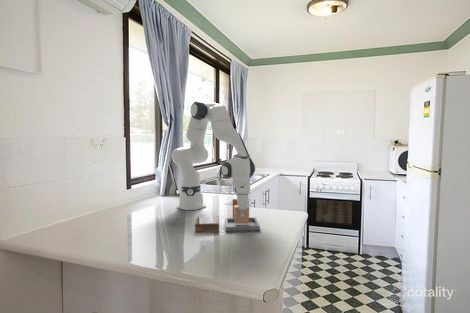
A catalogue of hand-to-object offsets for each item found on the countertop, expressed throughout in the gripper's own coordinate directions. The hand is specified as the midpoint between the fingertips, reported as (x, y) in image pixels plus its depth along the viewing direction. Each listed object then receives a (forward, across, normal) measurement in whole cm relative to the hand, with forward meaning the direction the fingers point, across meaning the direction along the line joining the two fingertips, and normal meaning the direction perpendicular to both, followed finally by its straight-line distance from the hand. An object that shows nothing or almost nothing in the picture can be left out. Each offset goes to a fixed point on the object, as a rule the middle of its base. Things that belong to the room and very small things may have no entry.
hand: (241, 214), depth 144 cm
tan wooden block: (+4, 0, 0) cm, 4 cm away
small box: (+6, -18, +1) cm, 19 cm away
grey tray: (+6, 0, 0) cm, 6 cm away
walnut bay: (+6, 0, -17) cm, 18 cm away
